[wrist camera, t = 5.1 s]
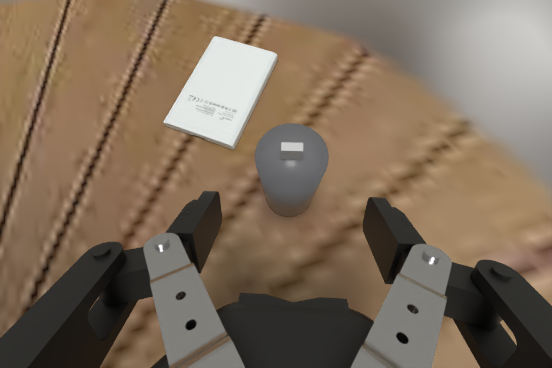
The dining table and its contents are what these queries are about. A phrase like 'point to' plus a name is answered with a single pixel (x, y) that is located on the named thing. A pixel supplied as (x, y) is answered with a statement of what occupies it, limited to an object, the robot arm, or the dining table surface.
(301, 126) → the grey upright cylinder
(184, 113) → the external hard drive
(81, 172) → the dining table surface
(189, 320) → the robot arm
